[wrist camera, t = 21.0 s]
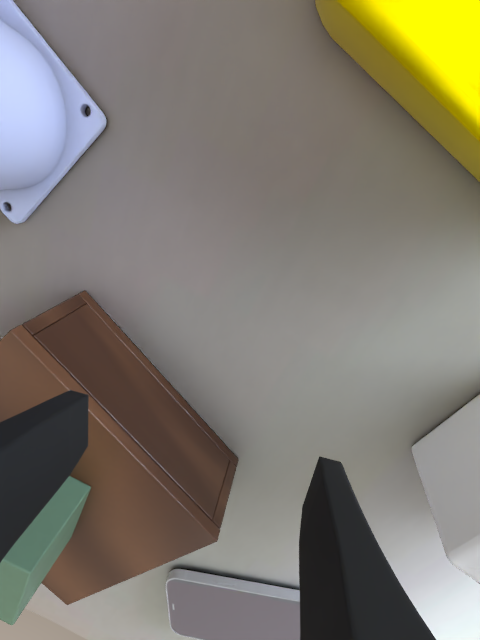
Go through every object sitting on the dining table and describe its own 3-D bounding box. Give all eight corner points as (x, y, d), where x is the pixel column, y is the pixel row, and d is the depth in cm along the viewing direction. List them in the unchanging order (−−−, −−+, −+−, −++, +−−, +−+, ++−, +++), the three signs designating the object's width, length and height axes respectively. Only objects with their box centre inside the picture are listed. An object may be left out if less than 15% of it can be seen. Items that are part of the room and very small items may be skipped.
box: (118, 522, 29) (80, 591, 25) (-21, 388, 27) (-94, 436, 22) (239, 459, 25) (220, 529, 20) (85, 289, 22) (22, 323, 17)
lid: (73, 594, 25) (66, 605, 24) (-100, 442, 22) (-112, 450, 22) (220, 529, 20) (217, 541, 19) (21, 324, 17) (10, 330, 17)
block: (-1, 499, 21) (-78, 581, 17) (12, 446, 19) (-71, 522, 15) (71, 536, 21) (12, 627, 17) (92, 486, 19) (30, 574, 15)
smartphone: (354, 672, 29) (170, 634, 32) (352, 658, 30) (174, 622, 33) (366, 612, 27) (164, 575, 29) (364, 599, 27) (168, 564, 30)
